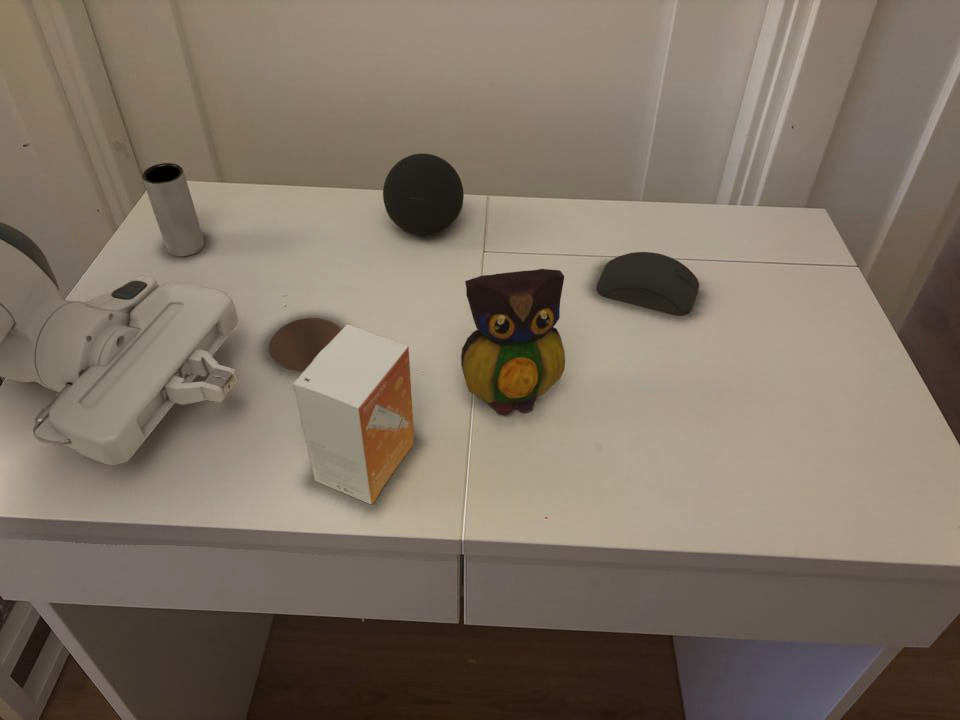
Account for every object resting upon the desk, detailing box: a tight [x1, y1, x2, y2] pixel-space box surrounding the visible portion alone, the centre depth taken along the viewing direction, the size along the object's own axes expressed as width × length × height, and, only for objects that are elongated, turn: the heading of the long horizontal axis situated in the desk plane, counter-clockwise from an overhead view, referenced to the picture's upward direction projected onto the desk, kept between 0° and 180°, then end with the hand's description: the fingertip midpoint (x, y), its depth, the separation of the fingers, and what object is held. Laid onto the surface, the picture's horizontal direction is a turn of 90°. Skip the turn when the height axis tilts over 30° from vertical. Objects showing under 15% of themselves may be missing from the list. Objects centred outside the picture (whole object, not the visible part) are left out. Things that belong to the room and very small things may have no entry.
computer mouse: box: [596, 251, 700, 317], centre depth 87 cm, size 6×11×4 cm, turn 68°
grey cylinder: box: [141, 162, 205, 257], centre depth 89 cm, size 4×4×10 cm
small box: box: [292, 323, 415, 505], centre depth 65 cm, size 8×6×13 cm
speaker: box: [382, 152, 465, 237], centre depth 93 cm, size 10×10×10 cm
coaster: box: [269, 317, 342, 372], centre depth 81 cm, size 8×8×1 cm
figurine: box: [460, 268, 566, 416], centre depth 70 cm, size 10×7×15 cm
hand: (229, 386), depth 68 cm, fingers closed
